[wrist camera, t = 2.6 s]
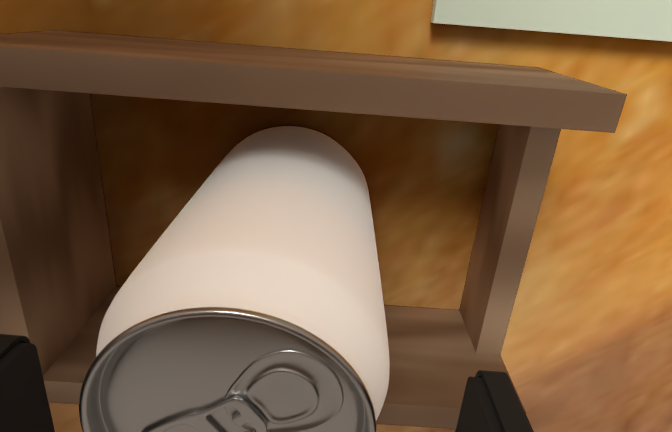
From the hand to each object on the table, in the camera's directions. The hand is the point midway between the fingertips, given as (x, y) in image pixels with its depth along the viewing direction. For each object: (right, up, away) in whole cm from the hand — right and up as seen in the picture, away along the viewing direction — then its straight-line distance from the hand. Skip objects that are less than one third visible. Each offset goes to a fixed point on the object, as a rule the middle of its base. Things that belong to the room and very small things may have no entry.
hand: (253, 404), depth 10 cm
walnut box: (0, +5, +10) cm, 11 cm away
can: (0, +5, +10) cm, 11 cm away
